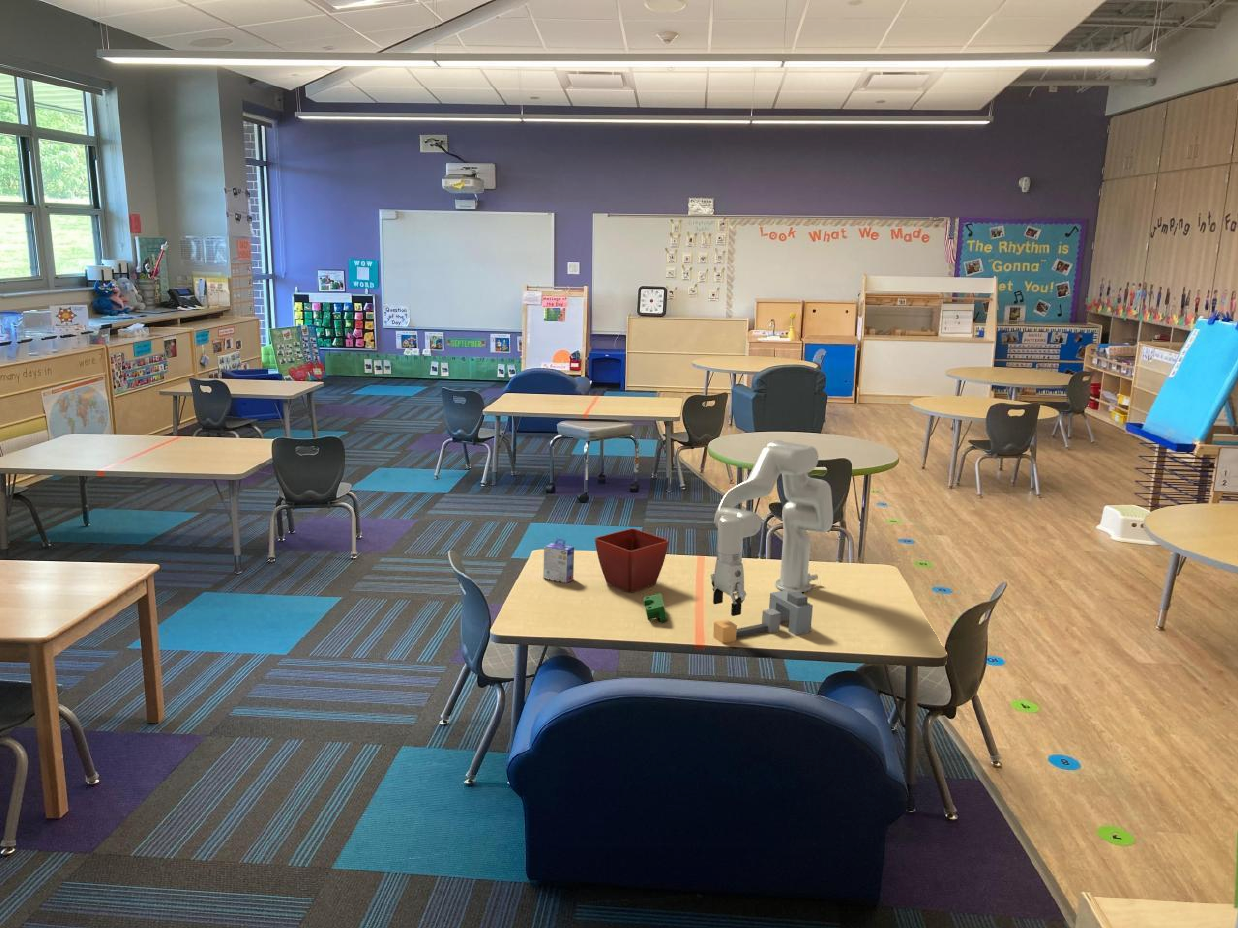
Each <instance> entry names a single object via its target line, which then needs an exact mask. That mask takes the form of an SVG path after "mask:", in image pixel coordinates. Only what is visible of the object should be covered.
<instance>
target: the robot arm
mask: <svg viewBox="0 0 1238 928" xmlns="http://www.w3.org/2000/svg"><path fill="white" fill-rule="evenodd" d="M756 458H757V459H756V461H755V463H754V464H753V467H752V468H751V471H750V472H749V475H748V477H747V479H746V480H744V481H742V482H741V483H738V484H737V485H735V486H734V487H732V488H731V489H729V490H728V491H727V492H726V493H725V494H724V495H723V497H722V499H721V500H720V503H719V504H718V506H717V509H716V511H715V514H714V519H713V521H714V525H715V527H716V528H717V547H716V548H717V549H716V560H715V566H714V573H712V574H710V580H711V586H712V591H713V594H712V595H713V599H712V604H713V605H718V604H719V605H720V604H722V603H723V602H724V594H725V595H728V596H730V597H731V600H732V603H731V610H730V612H731V613H730V615H731V616H732V617H735V616H738V615H739V616H740V615H741V614H742V603H743V602H744V601H745V598H746V597H747V593H746V590H745V572H744V571H745V570H744V565H743V563H742V561H743V542H744V541H743V540H744V538H748V537H752V536H755V535H757V533H758V532H759V531H760V530H761V527H762V524H763V523H762V517H761V516H760V515H759V514H758V513H757V512H755V511H751V510H745V509H740V508H736V506H738V505H739V504H741V503H743V502H746V501H750V500H755V499H760V498H763V497H767V496H768V495H770V494H771V493H772V491H773V489H774V487H775V484H776V483H777V480H779V479H778V478H779V476H780V475H781V476H782V477H781V478H782V486H783V493H784V497H785V500H787V502H785V504H784V505H783V506H782V512H781V515H782V516H781V518H782V526H783V532H782V533H783V535H782V550H781V564H780V576H779V578H778V579H777V580H776V581H775V582H774V583H775V587H776V588H777V590H778V589H779V591H784V590H785V591H787V592H789V593H791V592H796V591H798V592H800V593H802V592H804V593H808V592H809V591H811V590H812V584H811V583H810V582H811V581H816V580H819V575H818V574H811V573H809V565H810V564H809V563H810V554H811V553H810V552H811V538H810V536H809V535H810V534H809V532H815V533H820V534H821V533H824V534H825V533H827V532H829V531H830V530H831V528H832V526H833V523H834V510H833V509H834V508H833V497H832V496H833V495H832V488H831V486H830V484H829V483H828V481H826V480H824V479H820V478H819V479H818V478H814V477H811V476H809V475H808V474H809V473H810V472H812V471H814V469H815V468H816V467H817V465H818V463H819V453H818V450H817V448H815V447H814V446H812V445H807V444H802V443H801V444H800V443H794V442H786V441H783V440H779V439H774V440H771V441H769V442H768V443H767V444H766V446H765V447H763V448H762V449H761V451H760V452H759V454H758V457H756ZM808 531H809V532H808ZM807 591H808V592H807ZM802 594H803V593H802ZM736 596H737V598H736Z"/></svg>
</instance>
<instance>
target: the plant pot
mask: <svg viewBox="0 0 1238 928" xmlns="http://www.w3.org/2000/svg"><path fill="white" fill-rule="evenodd" d="M594 542H595V548H596V554H597V558H598V561H599V565H600V569H601V572H602V574H603V578H604V580H605V582H606V584H607V585H610V586H612V587H615V588H618V589H621V590H622V591H625V592H628V593H633V592H636V591H641V590H643V589H646V588H649V587H652V586H655V585H656V583H657V580H658V579H659V577H660V574H661V572H662V569H663V565H664V563H665V559H666V556H667V551H668V548H669V543H670V542H669V540H668V539H667V538H664V537H660V536H658V535H656V534H655V535H654V534H652V533H649V532H646V531H642V530H641V529H636V528H628V529H625V530H620V531H616V532H611V533H608V534H605V535H600V536H596V537H594Z"/></svg>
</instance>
